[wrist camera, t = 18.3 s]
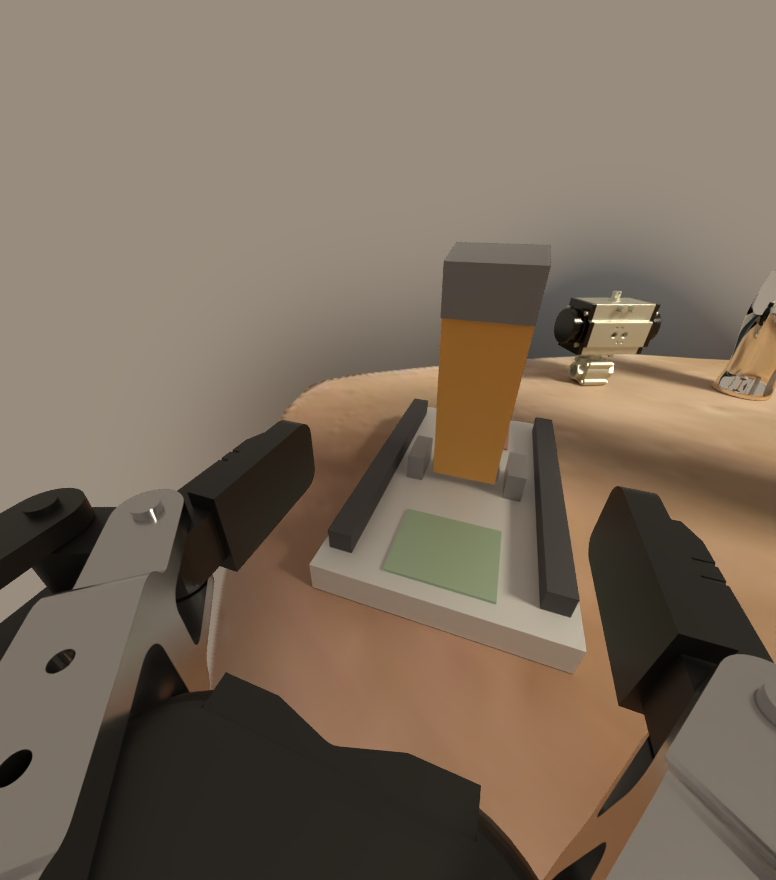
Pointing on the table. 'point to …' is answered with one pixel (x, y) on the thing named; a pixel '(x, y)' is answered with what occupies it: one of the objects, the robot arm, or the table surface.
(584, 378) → the pneumatic valve
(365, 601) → the breaker panel
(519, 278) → the lever
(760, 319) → the beer glass
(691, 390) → the table surface
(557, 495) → the dark grey mounting rails
